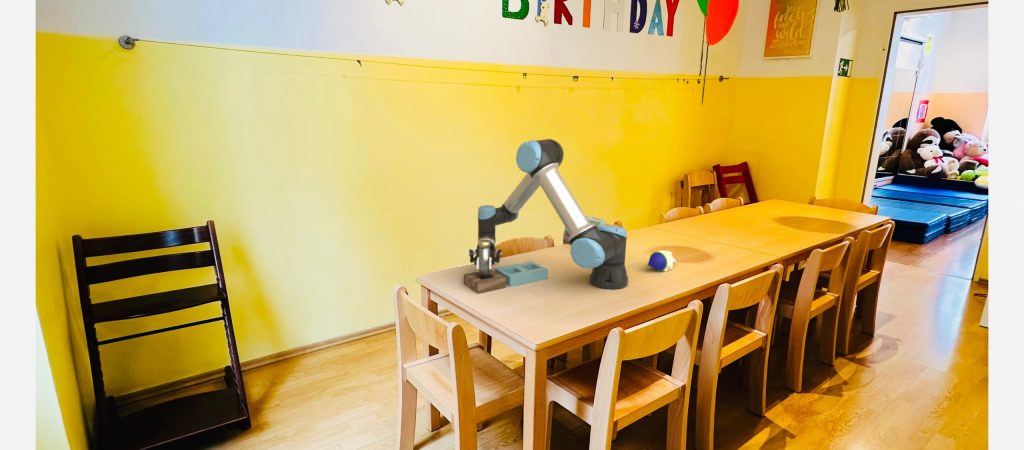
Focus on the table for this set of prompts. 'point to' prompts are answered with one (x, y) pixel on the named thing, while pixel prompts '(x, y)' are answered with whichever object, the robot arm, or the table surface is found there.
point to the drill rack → (522, 273)
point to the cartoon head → (661, 261)
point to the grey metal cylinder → (484, 259)
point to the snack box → (591, 220)
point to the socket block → (484, 282)
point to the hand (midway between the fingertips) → (483, 265)
